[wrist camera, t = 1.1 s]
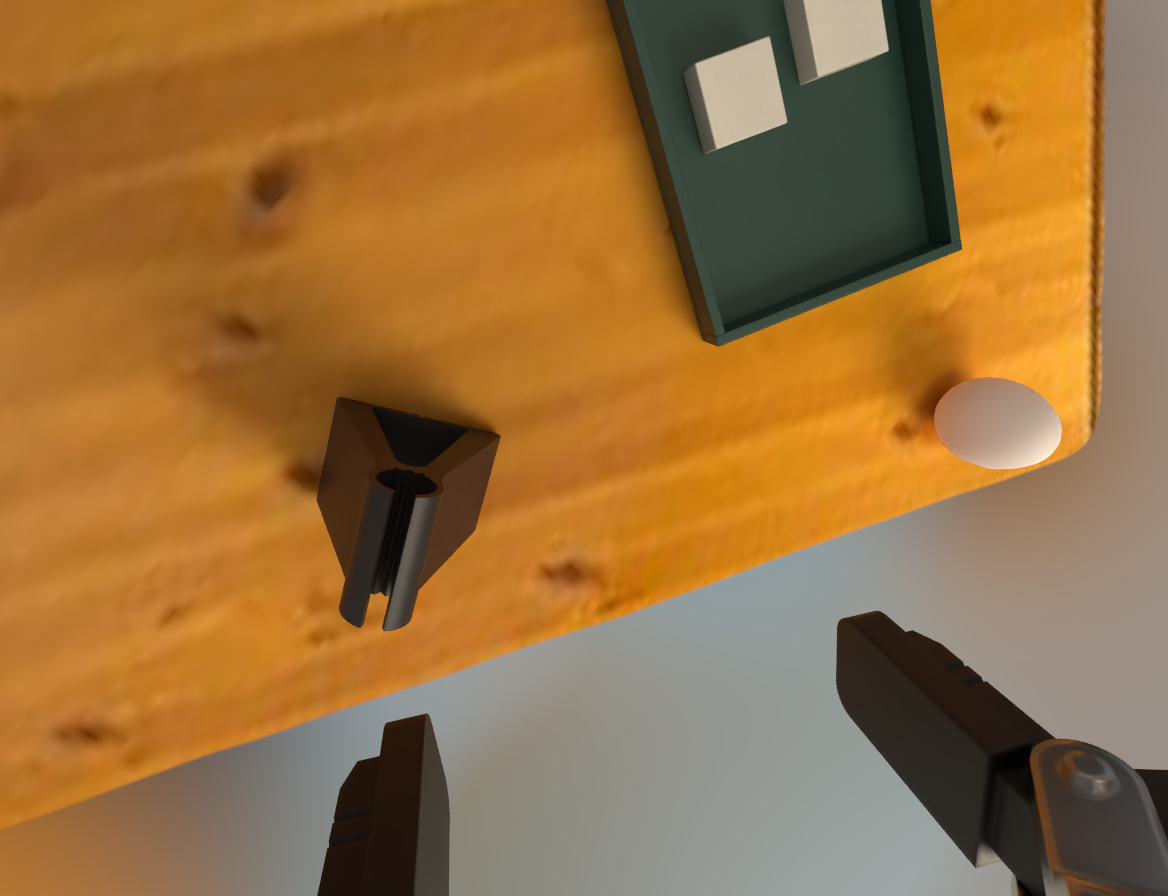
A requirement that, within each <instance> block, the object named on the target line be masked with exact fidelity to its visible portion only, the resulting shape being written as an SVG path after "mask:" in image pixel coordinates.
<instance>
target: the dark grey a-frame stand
mask: <svg viewBox="0 0 1168 896" xmlns="http://www.w3.org/2000/svg"><path fill="white" fill-rule="evenodd" d="M500 437H501V436H500V435H498V434H495V433H491V432H487V431H483V430H478V429H474V428H470V427H466V426H461V425H457V424H453V423H449V422H444V421H440V420H436V419H432V418H427V417H420V416H419V415H415V414H410V413H406V412H402V411H398V410H393V409H389V408H385V407H380V406H376V405H372V404H368V403H363V402H359V401H355V400H351V399H346V398H337V401H336V406H335V411H334V416H333V421H332V426H331V431H330V436H329V441H328V446H327V451H326V456H325V461H324V465H323V470H322V475H321V480H320V485H319V490H318V495H317V503H318V505H319V508H320V511H321V513H322V516H323V519H324V522H325V524H326V527H327V530H328V532H329V535H330V538H331V541H332V543H333V546H334V549H335V551H336V554H337V557H338V560H339V562H340V565H341V568H342V571H343V573H344V576H345V583H344V587H343V592H342V596H341V601H340V605H339V611H340V614H341V615H342V617H343V618H344V619H345V620H346V621H348V622H349V623H351V624H352V625H354V626H356V627H359V628H361V626H362V625H363V624H364V619H365V615H366V611H367V607H368V602H369V598H370V594H371V593H372V594H377V593H379V592H381V593H382V594H383V595H385V596H390V597H389V601H388V605H387V610H386V614H385V618H384V622H383V626H382V628H383V631H392V630H396V629H399V628H401V627H403V626H405V625H406V624H408V623H409V622H410V620H411V618H412V614H413V610H414V606H415V602H416V599H417V595H418V591H419V589H420V588H421V587H422V586H423V585H424V584H425V583H426V582H427V581H428V580H429V579H430V577H431V576H432V575H433V574H434V573H435V572H436V571H437V570H438V569H439V568H440V567H441V566H442V565H443V564H444V563H445V562H446V561H447V560H448V558H449V557H450V556H451V555H452V554H453V553H454V552H455V551H456V550H457V549H458V548H459V547H460V546H461V545H462V544H463V543H464V542H465V540H466V539H467V538H468V537H469V536H470V535H471V534H472V533H473V532H474V531H475V529H476V525H477V521H478V518H479V514H480V510H481V507H482V503H483V499H484V496H485V492H486V488H487V485H488V481H489V477H490V474H491V470H492V466H493V463H494V459H495V455H496V451H497V448H498V444H499V440H500Z"/></svg>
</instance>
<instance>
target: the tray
mask: <svg viewBox="0 0 1168 896" xmlns="http://www.w3.org/2000/svg"><path fill="white" fill-rule="evenodd" d="M783 1H784V0H607V3H608V6H609V10H610V13H611V17H612V20H613V24H614V28H615V31H616V35H617V38H618V42H619V45H620V49H621V52H622V56H623V59H624V63H625V66H626V70H627V73H628V77H629V80H630V84H631V87H632V91H633V94H634V98H635V101H636V105H637V108H638V112H639V116H640V119H641V123H642V126H643V130H644V133H645V137H646V140H647V144H648V147H649V151H650V154H651V158H652V161H653V165H654V168H655V172H656V175H657V179H658V182H659V186H660V189H661V193H662V196H663V200H664V204H665V207H666V211H667V214H668V218H669V221H670V225H671V228H672V232H673V235H674V239H675V242H676V246H677V249H678V253H679V256H680V260H681V263H682V267H683V270H684V274H685V277H686V281H687V284H688V288H689V292H690V295H691V299H692V302H693V306H694V309H695V313H696V316H697V320H698V323H699V327H700V330H701V334H702V337H703V341H705V342H708V343H710V344H713V345H716V346H718V347H719V346H722V345H724V344H727V343H729V342H732V341H734V340H737V339H739V338H742V337H744V336H747V335H749V334H752V333H754V332H757V331H759V330H762V329H764V328H767V327H769V326H772V325H774V324H777V323H779V322H782V321H784V320H787V319H789V318H792V317H794V316H797V315H799V314H802V313H804V312H807V311H809V310H812V309H814V308H817V307H819V306H822V305H824V304H827V303H829V302H832V301H834V300H837V299H839V298H842V297H844V296H847V295H849V294H852V293H854V292H857V291H859V290H862V289H864V288H867V287H869V286H872V285H874V284H877V283H879V282H882V281H884V280H887V279H889V278H892V277H894V276H897V275H899V274H902V273H904V272H907V271H909V270H912V269H914V268H917V267H919V266H922V265H924V264H927V263H929V262H932V261H934V260H937V259H939V258H942V257H944V256H947V255H949V254H952V253H954V252H957V251H959V250H962V245H961V240H960V231H959V223H958V215H957V207H956V199H955V191H954V183H953V175H952V167H951V159H950V152H949V144H948V136H947V128H946V120H945V112H944V104H943V96H942V88H941V80H940V73H939V65H938V57H937V49H936V41H935V33H934V25H933V17H932V9H931V1H930V0H881V2H882V9H883V15H884V22H885V28H886V35H887V42H888V48H889V50H888V51H887V52H885V53H883V54H880V55H878V56H876V57H874V58H872V59H870V60H867V61H865V62H862V63H859V64H857V65H854V66H851V67H849V68H846V69H843V70H841V71H838V72H835V73H833V74H830V75H827V76H825V77H822V78H819V79H817V80H814V81H811V82H809V83H806V84H803V85H800V83H799V77H798V72H797V67H796V62H795V57H794V52H793V47H792V42H791V37H790V32H789V27H788V22H787V17H786V12H785V7H784V2H783ZM767 36H769V37H770V41H771V45H772V50H773V55H774V60H775V65H776V69H777V74H778V79H779V84H780V89H781V93H782V98H783V103H784V108H785V113H786V117H787V123H786V124H783V125H780V126H778V127H775V128H773V129H770V130H767V131H765V132H762V133H759V134H757V135H754V136H751V137H749V138H746V139H743V140H741V141H738V142H736V143H733V144H730V145H728V146H725V147H722V148H720V149H717V150H714V151H712V152H709V153H706V154H704V153H703V149H702V145H701V141H700V137H699V134H698V130H697V126H696V122H695V118H694V114H693V110H692V106H691V102H690V98H689V95H688V91H687V87H686V83H685V79H684V75H683V73H684V72H685V71H686V70H687V69H688V68H690V67H691V66H692V65H693V64H695V63H696V62H699V61H702V60H705V59H707V58H710V57H713V56H715V55H718V54H721V53H724V52H726V51H729V50H732V49H735V48H737V47H740V46H743V45H745V44H748V43H751V42H754V41H756V40H759V39H762V38H765V37H767Z"/></svg>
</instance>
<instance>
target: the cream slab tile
mask: <svg viewBox="0 0 1168 896" xmlns="http://www.w3.org/2000/svg"><path fill="white" fill-rule="evenodd" d="M783 2H784V7H785V12H786V17H787V22H788V27H789V32H790V37H791V42H792V47H793V52H794V57H795V62H796V67H797V72H798V77H799V83H800V85H803V84H806V83H809V82H811V81H814V80H817V79H819V78H822V77H825V76H827V75H830V74H833V73H835V72H838V71H841V70H843V69H846V68H849V67H851V66H854V65H857V64H859V63H862V62H865V61H867V60H870V59H872V58H874V57H876V56H878V55H880V54H883V53H885V52H887V51H888V50H889V48H888V42H887V35H886V28H885V22H884V15H883V9H882V2H881V0H784V1H783Z"/></svg>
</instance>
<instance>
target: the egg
mask: <svg viewBox="0 0 1168 896" xmlns="http://www.w3.org/2000/svg"><path fill="white" fill-rule="evenodd" d="M934 426H935V430H936V433H937V435H938V437H939V439H940V440H941V442H942V444H943V445H944V446H945V447H946V448H947V449H948V450H949V451H950V452H951V453H952V454H954V455H956V456H957V457H959V458H961V459H962V460H964V461H967V462H969V463H972V464H975V465H978V466H981V467H985V468H992V469H1016V468H1021V467H1026V466H1030V465H1034V464H1037V463H1039V462H1041V461H1043V460H1044V459H1046V458H1047V457H1049V456H1050V455H1051V454H1052V453H1053V452H1054V451H1055V449H1056V448H1057V447H1058V445H1059V442H1060V439H1061V436H1062V430H1061V422H1060V419H1059V416H1058V415H1057V414H1056V412H1055V411H1054V409H1053V408H1052V406H1051V405H1050V404H1049V403H1048V402H1047V401H1046V400H1045V399H1044V398H1043V397H1042V396H1041V395H1039V394H1038V393H1037V392H1035V391H1034V390H1032V389H1030V388H1028V387H1026V386H1024V385H1022V384H1019V383H1016V382H1013V381H1010V380H1006V379H1001V378H992V377H990V378H976V379H971V380H969V381H966V382H963V383H961V384H958V385H956V386H954V387H953V388H951V389H950V390H948V391H947V393H946V394H945V395H944V396H943V397H942V398H941V399H940V401H939V402H938V404H937V406H936V409H935V413H934Z"/></svg>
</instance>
